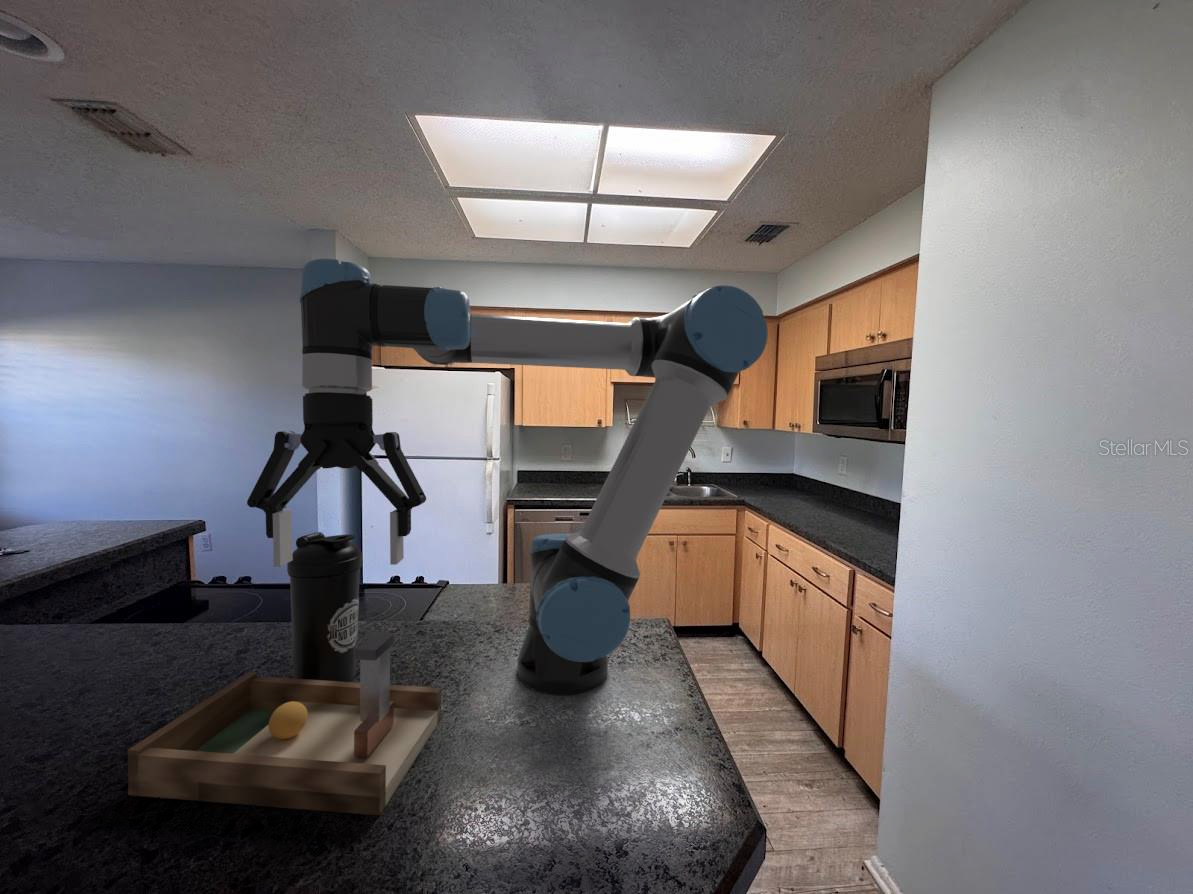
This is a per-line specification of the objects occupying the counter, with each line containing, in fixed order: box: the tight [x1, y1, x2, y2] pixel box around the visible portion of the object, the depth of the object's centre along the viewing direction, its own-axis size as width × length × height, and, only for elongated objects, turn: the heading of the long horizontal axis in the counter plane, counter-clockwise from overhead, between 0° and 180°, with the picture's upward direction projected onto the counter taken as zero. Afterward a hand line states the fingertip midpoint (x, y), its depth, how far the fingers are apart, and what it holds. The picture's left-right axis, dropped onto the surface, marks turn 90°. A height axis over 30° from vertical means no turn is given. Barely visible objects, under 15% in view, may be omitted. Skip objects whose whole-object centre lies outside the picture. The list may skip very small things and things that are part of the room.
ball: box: [269, 701, 308, 739], centre depth 57 cm, size 4×4×4 cm
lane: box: [127, 671, 442, 816], centre depth 57 cm, size 28×16×5 cm, turn 86°
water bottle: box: [286, 531, 363, 682], centre depth 73 cm, size 10×10×23 cm
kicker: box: [354, 632, 395, 757], centre depth 56 cm, size 2×6×12 cm, turn 176°
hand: (340, 562), depth 58 cm, fingers open, 13 cm apart
